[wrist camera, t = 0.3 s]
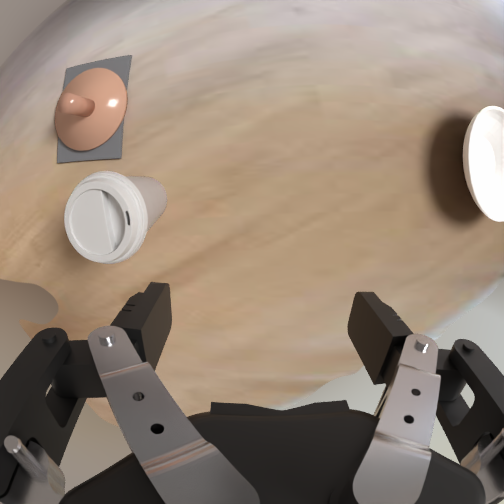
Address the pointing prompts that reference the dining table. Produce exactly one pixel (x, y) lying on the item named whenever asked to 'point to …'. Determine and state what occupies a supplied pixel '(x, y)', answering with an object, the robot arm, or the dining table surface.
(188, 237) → the dining table surface
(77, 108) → the lid
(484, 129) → the bowl
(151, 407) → the robot arm
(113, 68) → the mat
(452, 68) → the dining table surface
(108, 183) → the coffee cup
